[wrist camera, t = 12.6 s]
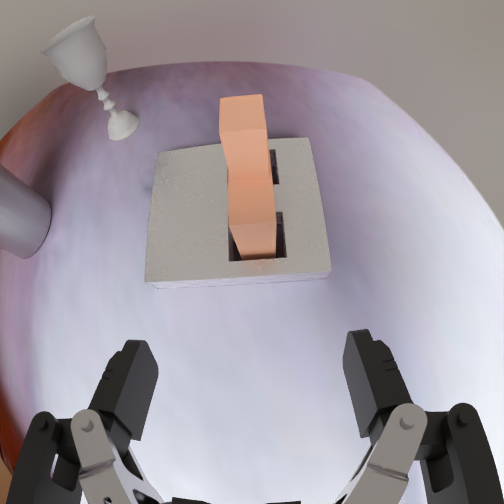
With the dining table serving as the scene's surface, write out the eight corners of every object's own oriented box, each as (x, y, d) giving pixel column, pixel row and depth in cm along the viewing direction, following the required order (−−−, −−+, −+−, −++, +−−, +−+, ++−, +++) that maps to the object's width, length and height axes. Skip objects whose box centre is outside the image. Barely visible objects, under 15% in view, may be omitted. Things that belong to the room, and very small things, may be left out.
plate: (157, 288, 26) (144, 282, 23) (166, 167, 30) (158, 152, 27) (325, 278, 25) (331, 270, 22) (306, 154, 29) (308, 137, 26)
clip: (243, 263, 26) (212, 183, 13) (239, 177, 29) (217, 70, 16) (275, 261, 26) (277, 178, 12) (268, 174, 29) (262, 66, 15)
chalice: (95, 147, 33) (29, 60, 16) (113, 113, 35) (62, 28, 18) (135, 144, 32) (72, 39, 15) (152, 108, 34) (106, 8, 17)
